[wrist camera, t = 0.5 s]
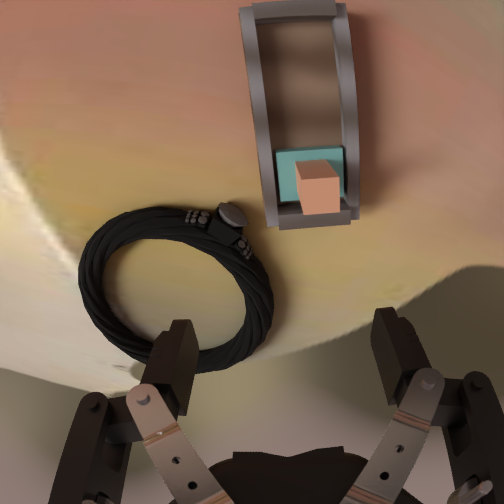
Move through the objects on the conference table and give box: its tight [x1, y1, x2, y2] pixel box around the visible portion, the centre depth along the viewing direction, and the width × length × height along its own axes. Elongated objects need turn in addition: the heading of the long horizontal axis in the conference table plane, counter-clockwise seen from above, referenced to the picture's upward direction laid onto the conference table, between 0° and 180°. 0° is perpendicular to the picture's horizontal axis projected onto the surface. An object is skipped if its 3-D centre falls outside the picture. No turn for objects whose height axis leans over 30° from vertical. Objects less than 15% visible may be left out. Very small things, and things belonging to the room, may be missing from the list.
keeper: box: [275, 145, 344, 215], centre depth 28 cm, size 5×6×8 cm
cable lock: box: [78, 202, 274, 374], centre depth 40 cm, size 28×4×30 cm
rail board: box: [239, 0, 360, 230], centre depth 27 cm, size 22×10×4 cm, turn 7°
